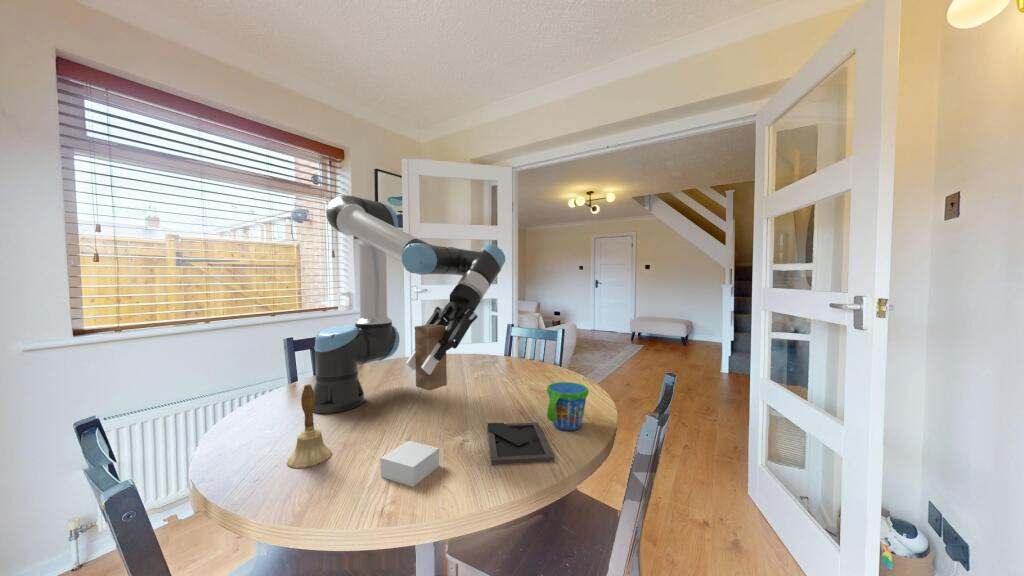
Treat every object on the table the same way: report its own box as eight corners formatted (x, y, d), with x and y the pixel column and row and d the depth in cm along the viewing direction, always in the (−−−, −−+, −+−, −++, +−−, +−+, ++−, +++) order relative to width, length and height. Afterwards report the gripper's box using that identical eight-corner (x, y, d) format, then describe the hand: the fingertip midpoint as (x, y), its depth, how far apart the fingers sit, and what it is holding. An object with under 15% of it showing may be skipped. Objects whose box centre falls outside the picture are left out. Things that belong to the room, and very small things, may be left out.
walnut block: (415, 386, 81) (414, 326, 80) (433, 381, 84) (432, 324, 84) (429, 390, 77) (428, 328, 77) (446, 384, 81) (445, 325, 81)
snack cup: (568, 412, 100) (569, 377, 100) (600, 423, 93) (601, 385, 93) (532, 428, 90) (532, 389, 89) (565, 442, 82) (565, 399, 82)
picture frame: (487, 430, 90) (491, 468, 72) (487, 422, 90) (491, 458, 72) (537, 428, 91) (554, 464, 73) (537, 420, 91) (554, 455, 73)
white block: (380, 478, 68) (380, 457, 67) (408, 458, 75) (408, 440, 75) (413, 488, 64) (412, 467, 64) (439, 467, 72) (439, 448, 71)
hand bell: (323, 466, 71) (322, 389, 71) (279, 470, 70) (277, 391, 69) (337, 447, 79) (336, 378, 79) (297, 450, 78) (296, 380, 78)
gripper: (502, 303, 87) (453, 385, 74) (453, 300, 98) (404, 371, 86) (487, 282, 82) (433, 365, 70) (438, 282, 94) (384, 354, 81)
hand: (417, 368), depth 78 cm, fingers closed on walnut block, 5 cm apart
